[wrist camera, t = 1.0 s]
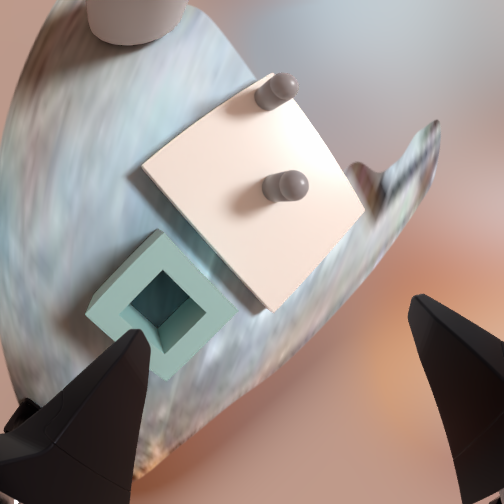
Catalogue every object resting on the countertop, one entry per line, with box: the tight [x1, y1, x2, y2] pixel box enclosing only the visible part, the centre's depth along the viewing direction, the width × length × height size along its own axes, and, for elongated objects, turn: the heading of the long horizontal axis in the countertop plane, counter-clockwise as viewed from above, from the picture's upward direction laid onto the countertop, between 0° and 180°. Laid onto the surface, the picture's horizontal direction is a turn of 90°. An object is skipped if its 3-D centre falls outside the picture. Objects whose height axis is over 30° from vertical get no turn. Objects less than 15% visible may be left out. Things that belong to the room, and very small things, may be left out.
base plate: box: [141, 73, 365, 313], centre depth 19 cm, size 12×14×5 cm
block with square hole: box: [85, 229, 238, 382], centre depth 17 cm, size 6×6×4 cm
